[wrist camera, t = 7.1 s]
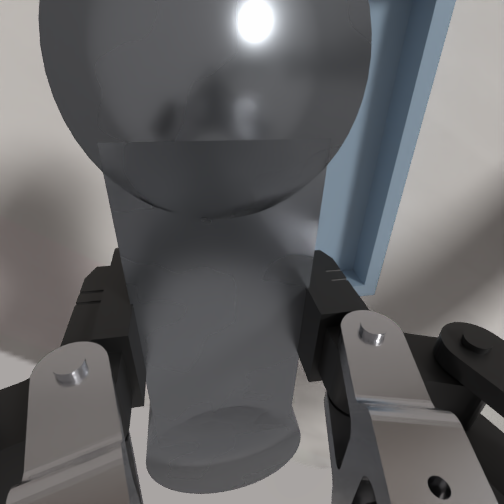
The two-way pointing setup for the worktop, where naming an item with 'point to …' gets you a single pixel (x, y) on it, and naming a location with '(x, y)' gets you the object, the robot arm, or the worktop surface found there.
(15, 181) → the worktop surface
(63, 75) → the steel dumbbell
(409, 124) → the slate-blue tray
